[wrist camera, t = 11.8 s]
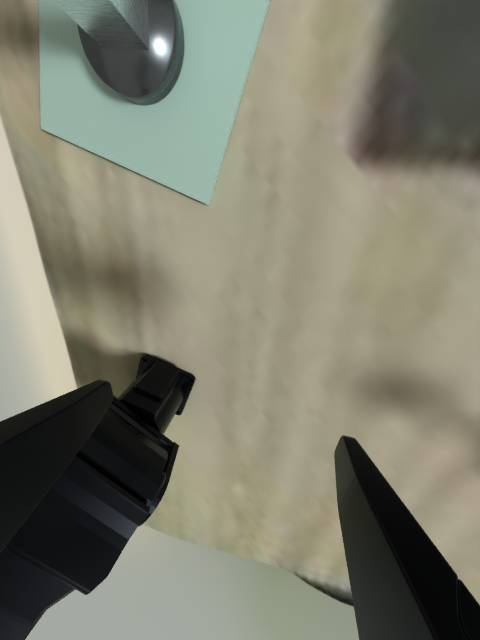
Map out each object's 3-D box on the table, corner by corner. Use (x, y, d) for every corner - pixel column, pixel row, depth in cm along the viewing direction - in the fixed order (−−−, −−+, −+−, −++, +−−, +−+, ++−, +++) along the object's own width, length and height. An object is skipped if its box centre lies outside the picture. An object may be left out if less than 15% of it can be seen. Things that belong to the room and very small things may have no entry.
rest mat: (209, 205, 18) (206, 204, 17) (48, 131, 18) (40, 128, 17) (293, -79, 11) (294, -94, 11) (46, -193, 11) (34, -213, 11)
